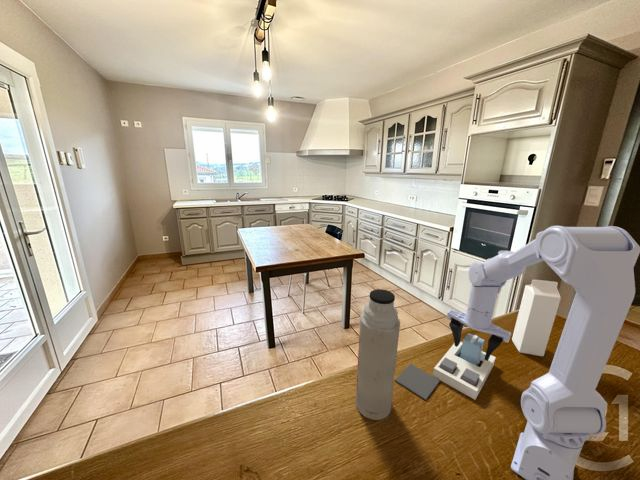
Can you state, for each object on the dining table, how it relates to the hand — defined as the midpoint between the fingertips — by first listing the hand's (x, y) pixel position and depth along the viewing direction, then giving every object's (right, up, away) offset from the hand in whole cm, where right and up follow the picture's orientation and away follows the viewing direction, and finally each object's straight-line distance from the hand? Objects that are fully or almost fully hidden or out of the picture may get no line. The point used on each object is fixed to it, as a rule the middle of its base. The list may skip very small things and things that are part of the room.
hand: (471, 351), depth 72 cm
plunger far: (-8, -4, -3) cm, 10 cm away
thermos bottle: (-29, -7, -11) cm, 32 cm away
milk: (+21, -2, +7) cm, 22 cm away
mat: (-17, -5, -5) cm, 18 cm away
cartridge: (0, -4, +1) cm, 4 cm away
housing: (-3, -4, -2) cm, 5 cm away
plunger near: (-5, -6, -7) cm, 10 cm away
